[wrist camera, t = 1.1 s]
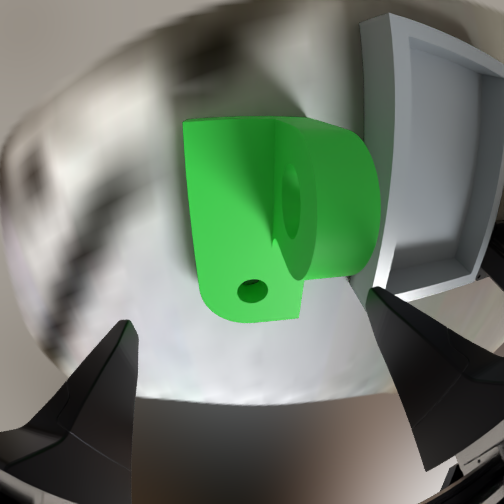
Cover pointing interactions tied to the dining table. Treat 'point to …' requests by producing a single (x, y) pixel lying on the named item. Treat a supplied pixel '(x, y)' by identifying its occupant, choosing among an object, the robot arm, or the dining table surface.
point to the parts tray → (430, 156)
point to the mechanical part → (276, 210)
